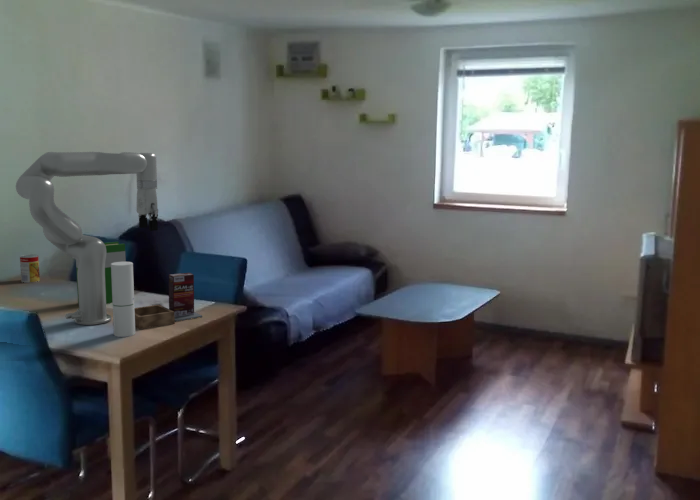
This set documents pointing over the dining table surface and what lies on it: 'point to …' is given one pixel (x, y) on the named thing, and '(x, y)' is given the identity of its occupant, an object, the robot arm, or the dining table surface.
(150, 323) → the pocket frame
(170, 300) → the supplement box
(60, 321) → the dining table surface
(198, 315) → the mat
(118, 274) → the cylindrical container
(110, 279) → the hardback book
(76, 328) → the dining table surface
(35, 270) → the canned food
